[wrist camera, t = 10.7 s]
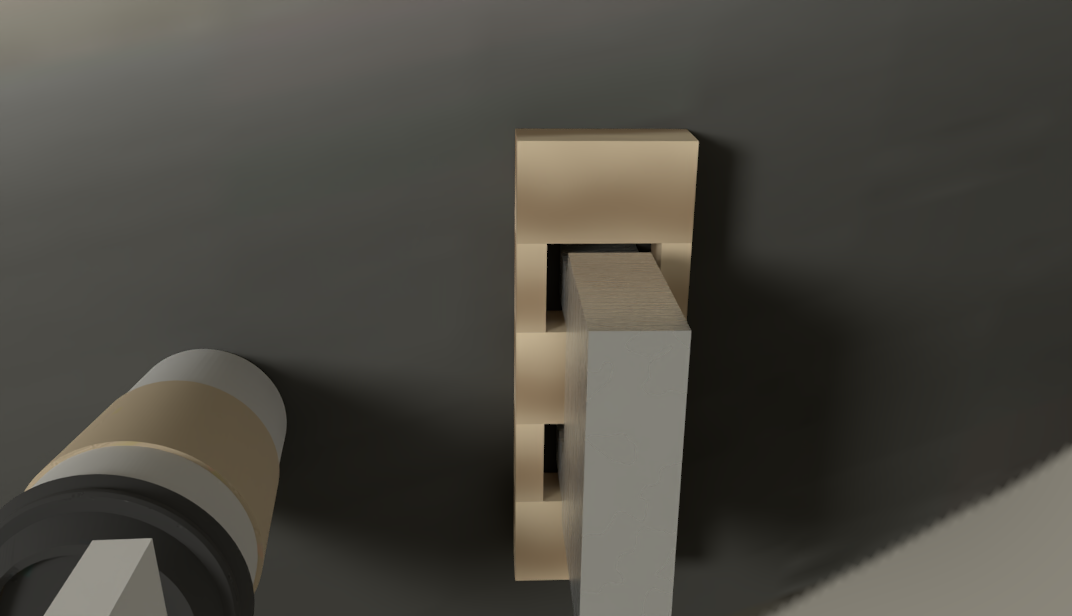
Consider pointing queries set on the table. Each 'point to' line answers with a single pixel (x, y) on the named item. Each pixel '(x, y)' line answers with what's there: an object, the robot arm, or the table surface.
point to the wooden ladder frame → (540, 336)
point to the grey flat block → (621, 429)
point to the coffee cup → (159, 489)
